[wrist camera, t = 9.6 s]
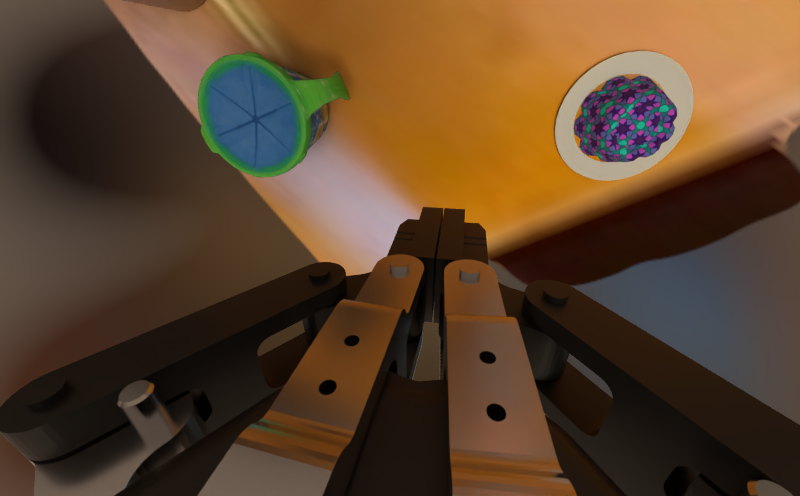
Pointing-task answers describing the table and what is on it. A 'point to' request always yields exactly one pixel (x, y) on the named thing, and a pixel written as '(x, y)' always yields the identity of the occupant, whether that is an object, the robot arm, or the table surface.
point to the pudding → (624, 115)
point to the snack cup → (263, 112)
